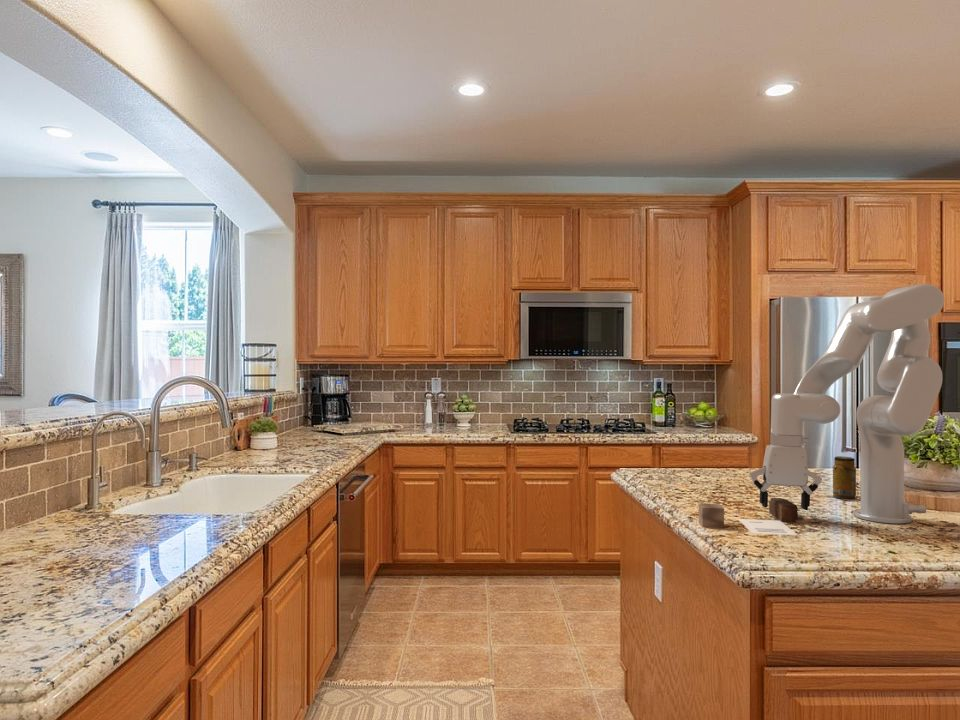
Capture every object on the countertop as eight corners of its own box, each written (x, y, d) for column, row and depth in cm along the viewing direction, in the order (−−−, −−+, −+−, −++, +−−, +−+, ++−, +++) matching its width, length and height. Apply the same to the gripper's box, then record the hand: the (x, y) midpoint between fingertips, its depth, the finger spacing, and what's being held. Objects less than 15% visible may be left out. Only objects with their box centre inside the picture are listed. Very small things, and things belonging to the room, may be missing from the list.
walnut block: (719, 524, 157) (719, 504, 158) (724, 529, 153) (724, 508, 153) (698, 523, 158) (698, 503, 158) (702, 528, 153) (702, 507, 153)
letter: (779, 521, 160) (779, 520, 160) (797, 535, 146) (797, 534, 146) (738, 519, 162) (738, 518, 162) (751, 533, 148) (751, 532, 148)
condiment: (845, 494, 194) (845, 455, 194) (868, 500, 185) (868, 459, 185) (825, 495, 192) (824, 456, 192) (847, 501, 184) (846, 460, 184)
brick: (798, 524, 158) (798, 505, 158) (781, 523, 158) (781, 504, 158) (784, 514, 168) (784, 496, 168) (768, 513, 169) (768, 496, 169)
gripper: (817, 441, 166) (815, 507, 166) (747, 438, 169) (745, 502, 169) (827, 444, 158) (825, 513, 158) (754, 441, 161) (752, 508, 161)
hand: (784, 507), depth 163 cm, fingers open, 9 cm apart
